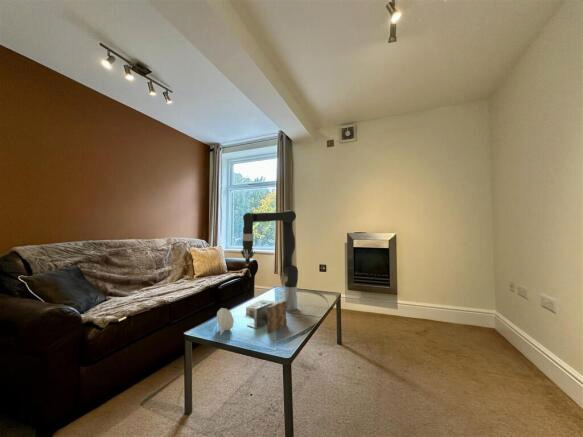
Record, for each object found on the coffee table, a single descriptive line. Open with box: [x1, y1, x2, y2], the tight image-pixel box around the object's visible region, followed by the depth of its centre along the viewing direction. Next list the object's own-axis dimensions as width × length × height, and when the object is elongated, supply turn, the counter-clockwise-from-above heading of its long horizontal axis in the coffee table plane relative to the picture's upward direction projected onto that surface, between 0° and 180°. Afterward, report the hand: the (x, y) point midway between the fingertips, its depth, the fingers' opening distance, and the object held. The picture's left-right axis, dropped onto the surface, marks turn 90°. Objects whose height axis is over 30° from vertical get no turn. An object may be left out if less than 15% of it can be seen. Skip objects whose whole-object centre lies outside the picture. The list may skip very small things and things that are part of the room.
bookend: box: [246, 303, 271, 330], centre depth 151 cm, size 13×8×12 cm, turn 145°
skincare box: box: [245, 299, 280, 316], centre depth 175 cm, size 21×5×16 cm
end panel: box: [266, 300, 287, 334], centre depth 144 cm, size 16×2×15 cm, turn 145°
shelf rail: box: [249, 310, 288, 327], centre depth 158 cm, size 2×31×4 cm, turn 55°
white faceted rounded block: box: [216, 307, 234, 336], centre depth 137 cm, size 10×11×15 cm
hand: (247, 263), depth 174 cm, fingers closed
